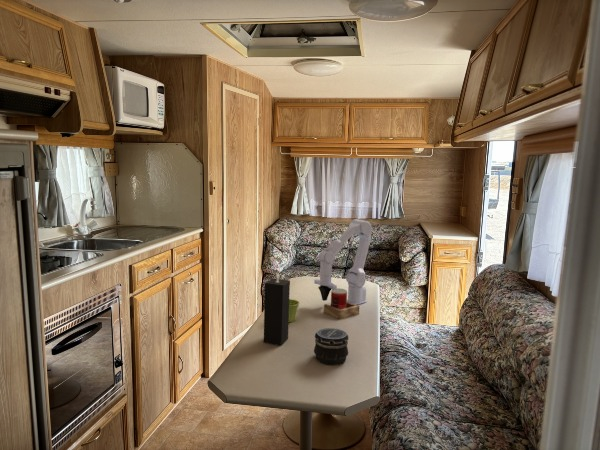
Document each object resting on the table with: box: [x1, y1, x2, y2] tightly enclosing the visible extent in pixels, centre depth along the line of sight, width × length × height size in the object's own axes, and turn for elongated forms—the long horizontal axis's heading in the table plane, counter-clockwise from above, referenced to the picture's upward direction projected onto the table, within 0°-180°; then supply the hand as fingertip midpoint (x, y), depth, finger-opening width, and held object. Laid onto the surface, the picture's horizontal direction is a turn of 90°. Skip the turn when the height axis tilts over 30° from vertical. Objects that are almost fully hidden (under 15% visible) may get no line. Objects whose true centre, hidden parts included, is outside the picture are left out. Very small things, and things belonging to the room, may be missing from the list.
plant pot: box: [289, 298, 300, 323], centre depth 201 cm, size 9×9×9 cm
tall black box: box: [263, 273, 291, 346], centre depth 175 cm, size 8×8×28 cm
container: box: [313, 327, 349, 366], centre depth 162 cm, size 13×13×10 cm
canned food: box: [330, 288, 348, 310], centre depth 214 cm, size 8×8×11 cm
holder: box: [323, 302, 360, 320], centre depth 213 cm, size 13×12×4 cm
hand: (324, 300), depth 223 cm, fingers closed
